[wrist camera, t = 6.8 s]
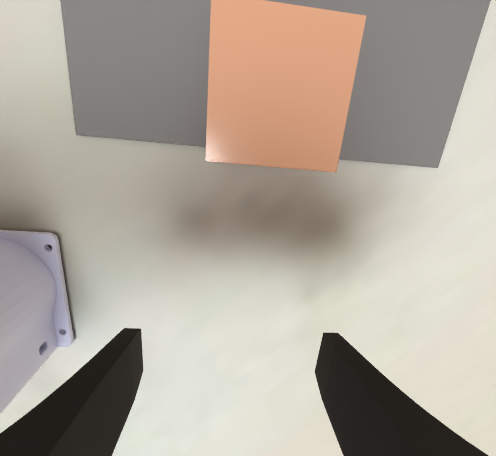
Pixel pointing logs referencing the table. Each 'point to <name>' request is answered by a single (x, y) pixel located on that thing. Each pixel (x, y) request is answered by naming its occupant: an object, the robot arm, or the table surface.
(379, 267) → the table surface
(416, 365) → the table surface
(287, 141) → the peach square slab
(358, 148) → the rubber mat
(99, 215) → the table surface
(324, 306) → the table surface
